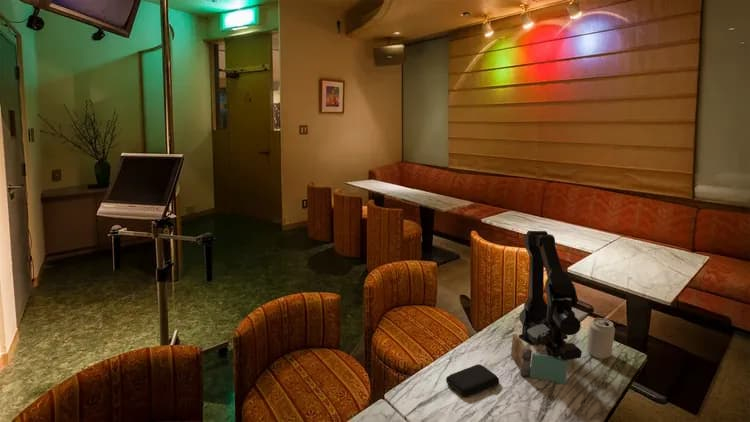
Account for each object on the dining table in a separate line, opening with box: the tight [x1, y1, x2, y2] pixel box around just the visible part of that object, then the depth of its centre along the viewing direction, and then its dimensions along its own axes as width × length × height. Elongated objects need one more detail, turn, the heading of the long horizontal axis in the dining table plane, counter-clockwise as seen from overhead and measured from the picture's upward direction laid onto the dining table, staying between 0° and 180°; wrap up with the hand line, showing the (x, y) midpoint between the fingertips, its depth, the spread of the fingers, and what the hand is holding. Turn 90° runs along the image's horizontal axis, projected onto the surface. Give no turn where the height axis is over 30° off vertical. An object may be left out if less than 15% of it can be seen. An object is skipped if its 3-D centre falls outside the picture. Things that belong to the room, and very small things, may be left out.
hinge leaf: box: [521, 352, 569, 385], centre depth 135 cm, size 13×3×8 cm, turn 68°
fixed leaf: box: [510, 333, 533, 379], centre depth 141 cm, size 12×3×9 cm, turn 3°
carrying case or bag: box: [445, 364, 500, 398], centre depth 133 cm, size 11×3×15 cm
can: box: [586, 317, 616, 360], centre depth 148 cm, size 8×8×12 cm
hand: (551, 363), depth 139 cm, fingers closed
